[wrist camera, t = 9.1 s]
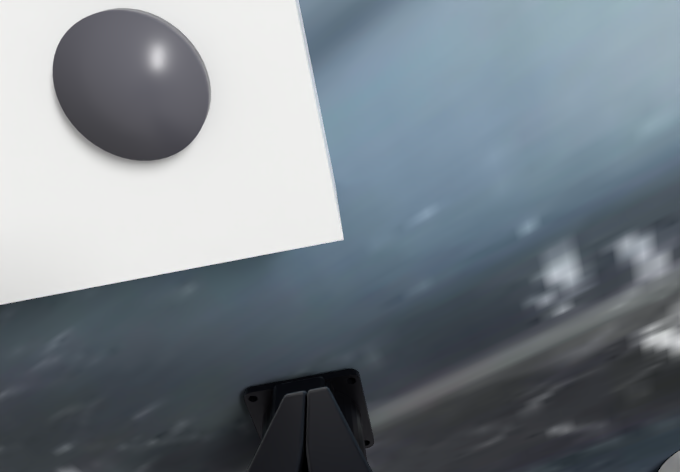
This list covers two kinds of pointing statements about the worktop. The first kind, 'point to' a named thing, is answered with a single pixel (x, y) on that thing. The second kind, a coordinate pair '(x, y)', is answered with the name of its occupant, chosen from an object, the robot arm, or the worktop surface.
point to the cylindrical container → (671, 464)
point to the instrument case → (155, 140)
